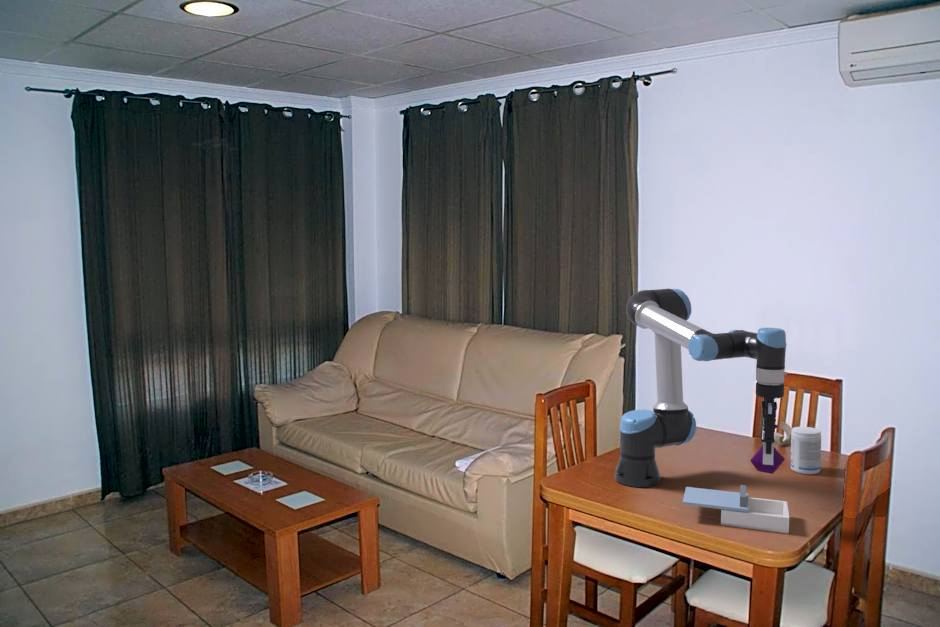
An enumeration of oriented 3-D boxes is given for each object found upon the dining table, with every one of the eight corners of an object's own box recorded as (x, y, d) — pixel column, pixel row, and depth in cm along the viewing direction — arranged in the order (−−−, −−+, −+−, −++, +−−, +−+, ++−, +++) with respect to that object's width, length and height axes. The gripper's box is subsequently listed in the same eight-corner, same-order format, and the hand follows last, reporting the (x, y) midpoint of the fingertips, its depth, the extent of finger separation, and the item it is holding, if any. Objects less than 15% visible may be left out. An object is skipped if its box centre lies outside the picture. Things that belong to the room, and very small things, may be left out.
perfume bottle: (758, 464, 213) (759, 405, 211) (784, 469, 208) (786, 408, 206) (749, 471, 207) (751, 410, 205) (776, 476, 203) (778, 414, 201)
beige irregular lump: (766, 442, 281) (770, 418, 284) (766, 446, 286) (770, 422, 289) (790, 446, 277) (793, 421, 280) (790, 450, 282) (793, 426, 285)
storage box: (720, 524, 208) (721, 509, 208) (722, 508, 220) (722, 494, 220) (788, 533, 202) (789, 518, 201) (786, 516, 214) (786, 501, 213)
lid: (682, 504, 211) (682, 491, 211) (686, 489, 223) (686, 477, 223) (748, 512, 205) (748, 499, 204) (748, 496, 217) (748, 484, 216)
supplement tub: (825, 471, 251) (827, 430, 249) (810, 477, 246) (811, 435, 244) (799, 464, 259) (801, 424, 257) (784, 469, 254) (785, 429, 252)
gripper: (786, 391, 194) (783, 472, 196) (782, 375, 214) (780, 449, 216) (756, 389, 196) (753, 469, 199) (755, 374, 216) (753, 447, 219)
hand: (767, 459), depth 207 cm, fingers closed on perfume bottle, 9 cm apart
